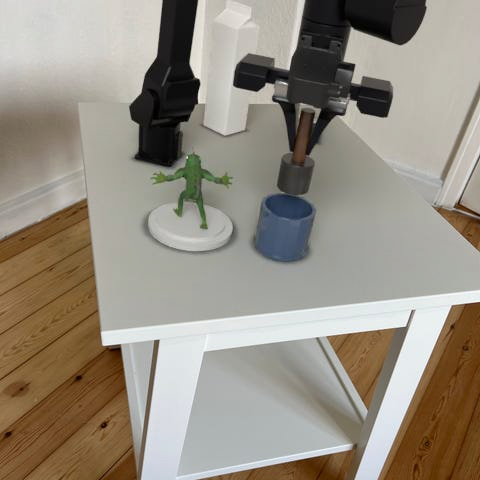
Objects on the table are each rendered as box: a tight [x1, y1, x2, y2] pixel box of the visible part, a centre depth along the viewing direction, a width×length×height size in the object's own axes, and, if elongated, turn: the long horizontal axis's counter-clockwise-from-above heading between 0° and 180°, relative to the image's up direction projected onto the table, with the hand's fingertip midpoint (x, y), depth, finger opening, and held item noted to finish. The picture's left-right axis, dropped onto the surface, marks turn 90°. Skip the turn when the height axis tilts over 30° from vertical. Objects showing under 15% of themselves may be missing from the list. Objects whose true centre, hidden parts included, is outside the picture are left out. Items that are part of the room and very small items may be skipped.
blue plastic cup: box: [254, 192, 317, 262], centre depth 77 cm, size 7×7×6 cm
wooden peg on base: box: [276, 107, 316, 196], centre depth 72 cm, size 4×4×10 cm
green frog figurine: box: [147, 146, 234, 252], centre depth 76 cm, size 12×12×10 cm
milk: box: [203, 0, 261, 137], centre depth 103 cm, size 6×6×22 cm
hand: (299, 152), depth 72 cm, fingers closed on wooden peg on base, 2 cm apart
